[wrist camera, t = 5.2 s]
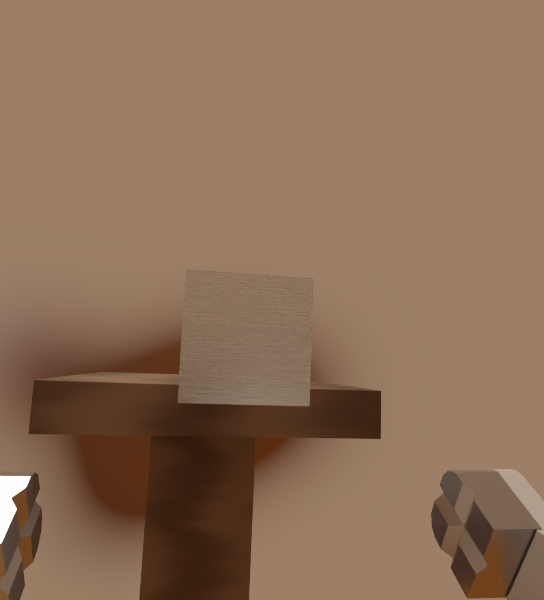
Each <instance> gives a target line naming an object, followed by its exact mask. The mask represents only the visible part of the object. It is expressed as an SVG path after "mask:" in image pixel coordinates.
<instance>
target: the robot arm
mask: <svg viewBox="0 0 544 600" xmlns="http://www.w3.org/2000/svg"><path fill="white" fill-rule="evenodd" d="M440 486H441V488H442V490H443V492H444V493H443V494H442V495H441V496H440V497H439V498H437V499H436V500H435V501H434V505H433V509H432V513H431V519H432V529H433V532H434V535H435V538H436V540H437V542H438V544H439V546H440V548H441V549H442V550H443V551H444V552H446V553H447V554H448V555H450V556H451V557H452V564H451V569H452V571H453V573H454V575H455V577H456V579H457V581H458V582H459V584H460V586H461V588H462V590H463V592H464V594H465V596H466V597H467V598H507V600H544V501H543V500H542V498H541V497H540V496H539V495H538V494H537V493H536V492H535V490H534V489H533V488H532V487H531V485H530V484H529V483H528V482H527V481H526V479H525V478H524V477H523V476H522V475H521V474H520V473H519V472H517V471H516V470H514V469H497V470H496V469H494V470H448V471H447V472H446V473H445V474H444V475H443V477H442V480H441V483H440ZM39 489H40V487H39V478H38V474H36V473H35V472H0V600H20V597H21V595H22V592H23V589H24V586H25V583H24V573H23V570H25V568H27V567H28V566H29V565H30V564H31V563H32V562H33V560H34V558H35V555H36V552H37V548H38V544H39V539H40V534H41V525H42V510H41V507H40V506H39V505H38V504H37V503H36V502H35V500H36V497H37V495H38V492H39Z"/></svg>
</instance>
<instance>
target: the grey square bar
mask: <svg viewBox="0 0 544 600" xmlns="http://www.w3.org/2000/svg"><path fill="white" fill-rule="evenodd" d="M312 301H313V279H312V278H298V277H284V276H269V275H256V274H242V273H228V272H214V271H199V270H186V278H185V294H184V310H183V325H182V326H183V328H182V342H181V357H180V374H179V388H178V403H195V404H235V405H275V406H310V372H311V337H312V336H311V334H312Z"/></svg>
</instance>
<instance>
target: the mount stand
mask: <svg viewBox="0 0 544 600" xmlns="http://www.w3.org/2000/svg"><path fill="white" fill-rule="evenodd" d="M178 388H179V375H175V374H174V375H173V374H146V373H118V372H98V373H90V374H81V375H73V376H64V377H56V378H48V379H39V380H34V386H33V396H32V406H31V416H30V426H29V434H72V435H80V434H81V435H144V436H147V435H148V436H151V443H150V457H149V471H148V485H147V500H146V515H145V528H144V544H143V558H142V571H141V585H140V586H141V587H140V600H249V584H250V561H251V537H252V513H253V512H252V511H253V489H254V466H255V440H256V437H286V438H294V437H295V438H360V439H361V438H362V439H363V438H364V439H365V438H366V439H380V438H381V391H377V390H371V389H364V388H357V387H349V386H343V385H336V384H329V383H323V382H315V381H310V406H275V405H235V404H195V403H178Z"/></svg>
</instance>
